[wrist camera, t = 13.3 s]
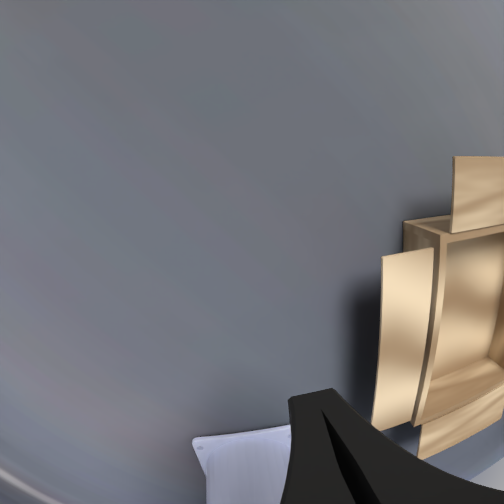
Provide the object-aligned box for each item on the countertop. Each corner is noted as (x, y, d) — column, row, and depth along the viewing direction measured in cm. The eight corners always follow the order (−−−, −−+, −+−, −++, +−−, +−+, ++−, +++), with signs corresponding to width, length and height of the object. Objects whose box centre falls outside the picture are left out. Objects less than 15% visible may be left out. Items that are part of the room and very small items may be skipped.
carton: (509, 345, 23) (534, 364, 19) (352, 407, 22) (370, 442, 18) (530, 203, 19) (563, 212, 15) (352, 228, 18) (384, 244, 14)
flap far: (422, 425, 18) (416, 462, 19) (509, 382, 19) (500, 418, 19) (421, 424, 18) (415, 460, 19) (507, 381, 19) (499, 417, 19)
